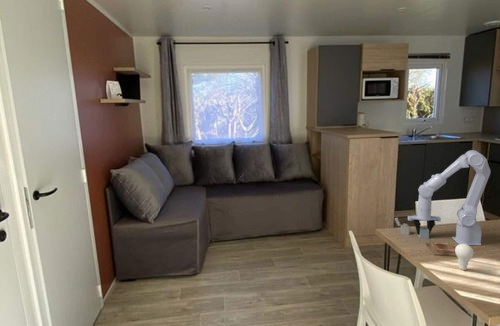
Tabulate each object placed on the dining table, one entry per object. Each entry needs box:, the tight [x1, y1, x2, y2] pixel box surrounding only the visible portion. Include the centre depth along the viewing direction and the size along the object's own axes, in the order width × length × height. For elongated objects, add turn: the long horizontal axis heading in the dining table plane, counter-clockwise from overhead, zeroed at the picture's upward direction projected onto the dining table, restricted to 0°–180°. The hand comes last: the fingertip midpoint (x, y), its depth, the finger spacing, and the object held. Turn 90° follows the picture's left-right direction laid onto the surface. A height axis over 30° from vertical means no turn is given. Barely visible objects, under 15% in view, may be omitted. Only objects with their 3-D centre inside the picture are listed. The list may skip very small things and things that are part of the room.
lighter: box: [394, 217, 411, 236], centre depth 160 cm, size 7×2×8 cm, turn 55°
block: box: [417, 226, 430, 240], centre depth 155 cm, size 4×4×4 cm
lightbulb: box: [455, 244, 475, 271], centre depth 122 cm, size 6×6×11 cm
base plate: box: [425, 242, 458, 258], centre depth 140 cm, size 11×11×2 cm
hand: (423, 234), depth 155 cm, fingers closed on block, 4 cm apart
